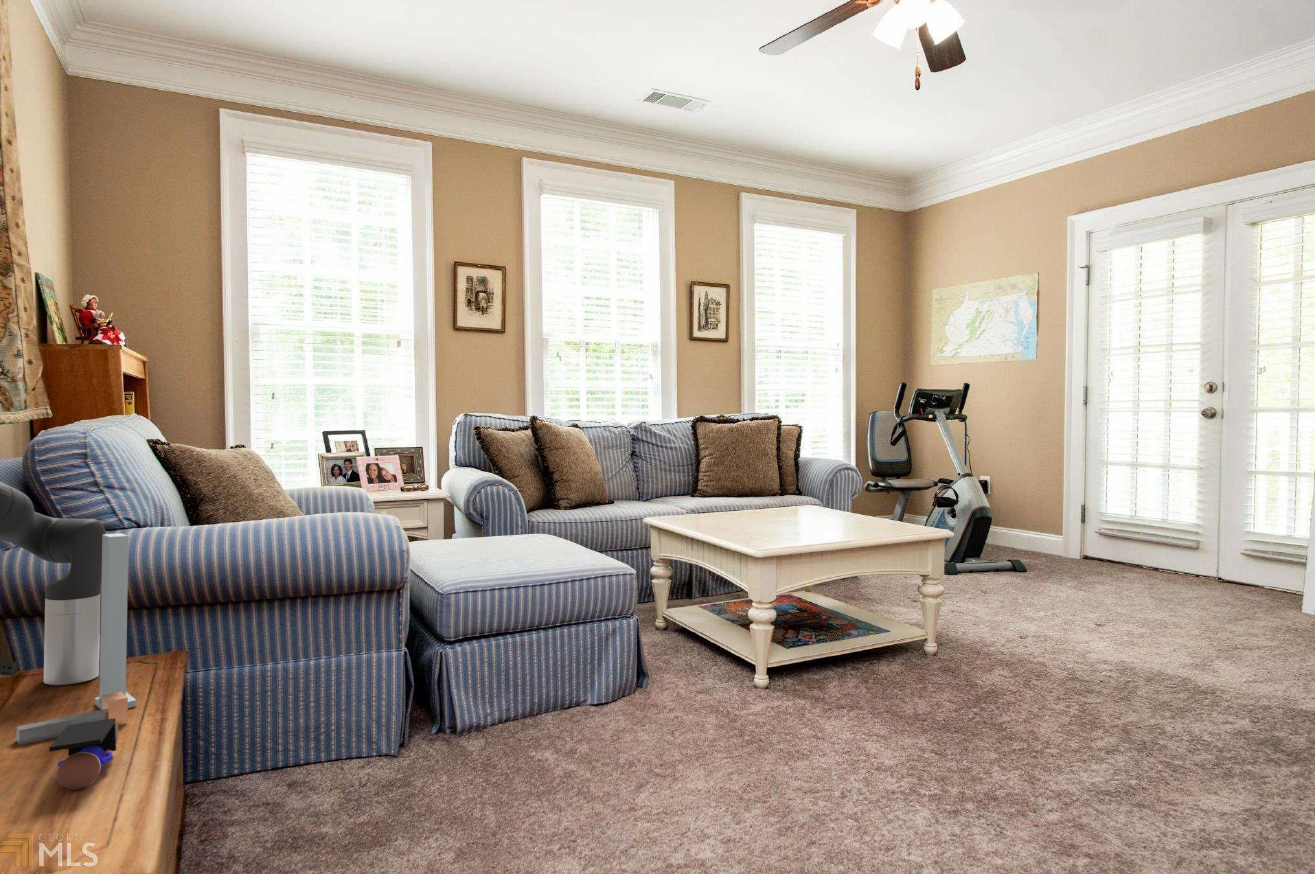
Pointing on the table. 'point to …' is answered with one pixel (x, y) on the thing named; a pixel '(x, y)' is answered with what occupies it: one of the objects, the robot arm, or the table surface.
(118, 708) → the grey handled tool
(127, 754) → the table surface
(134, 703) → the post
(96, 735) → the figurine character
